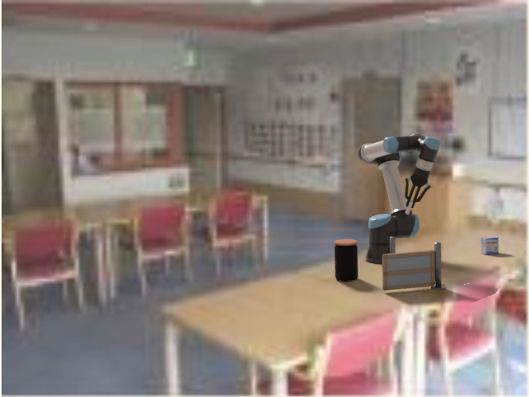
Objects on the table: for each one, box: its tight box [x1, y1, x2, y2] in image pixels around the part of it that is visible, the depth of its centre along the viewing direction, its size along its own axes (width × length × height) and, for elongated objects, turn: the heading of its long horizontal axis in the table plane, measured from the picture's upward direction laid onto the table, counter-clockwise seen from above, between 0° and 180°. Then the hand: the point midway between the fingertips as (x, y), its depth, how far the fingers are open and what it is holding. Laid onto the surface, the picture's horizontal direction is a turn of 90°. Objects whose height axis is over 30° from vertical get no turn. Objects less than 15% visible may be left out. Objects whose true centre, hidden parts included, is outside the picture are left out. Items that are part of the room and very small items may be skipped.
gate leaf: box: [381, 249, 435, 292], centre depth 301 cm, size 23×2×16 cm, turn 101°
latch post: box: [390, 236, 397, 254], centre depth 325 cm, size 2×2×19 cm
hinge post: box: [430, 241, 446, 291], centre depth 304 cm, size 6×6×20 cm
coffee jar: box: [333, 238, 359, 283], centre depth 325 cm, size 11×11×18 cm
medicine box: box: [480, 236, 500, 256], centre depth 366 cm, size 8×4×9 cm, turn 105°
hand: (407, 213), depth 340 cm, fingers closed
